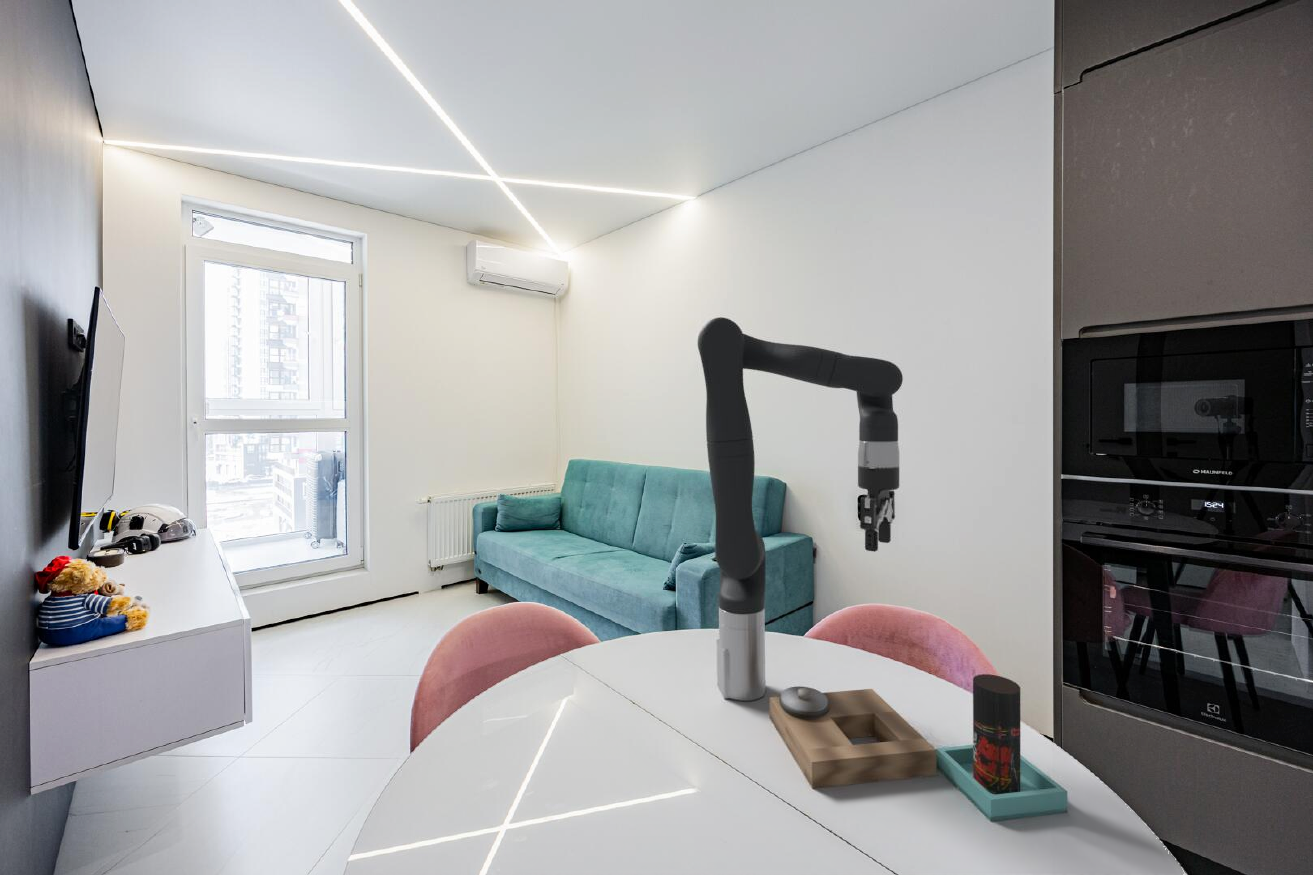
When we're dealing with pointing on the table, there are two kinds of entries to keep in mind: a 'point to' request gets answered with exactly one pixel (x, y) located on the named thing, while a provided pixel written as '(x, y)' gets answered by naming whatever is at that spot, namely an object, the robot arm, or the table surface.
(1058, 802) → the tray
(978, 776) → the deodorant
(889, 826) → the table surface
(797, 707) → the block
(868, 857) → the table surface
